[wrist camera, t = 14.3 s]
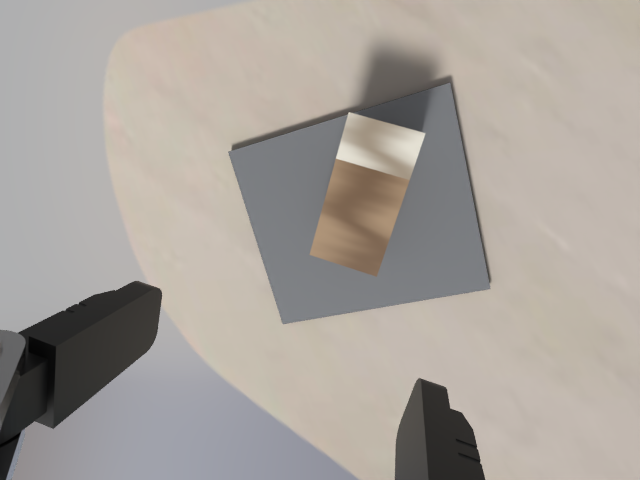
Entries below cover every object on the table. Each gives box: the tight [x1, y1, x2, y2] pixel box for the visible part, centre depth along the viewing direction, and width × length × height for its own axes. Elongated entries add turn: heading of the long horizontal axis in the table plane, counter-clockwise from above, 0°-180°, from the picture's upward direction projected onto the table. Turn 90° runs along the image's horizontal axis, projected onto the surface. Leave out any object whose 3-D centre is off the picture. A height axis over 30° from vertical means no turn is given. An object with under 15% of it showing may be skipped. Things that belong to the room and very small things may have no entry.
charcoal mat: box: [228, 83, 490, 324], centre depth 31 cm, size 18×16×1 cm
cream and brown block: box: [310, 112, 426, 277], centre depth 27 cm, size 5×5×10 cm
